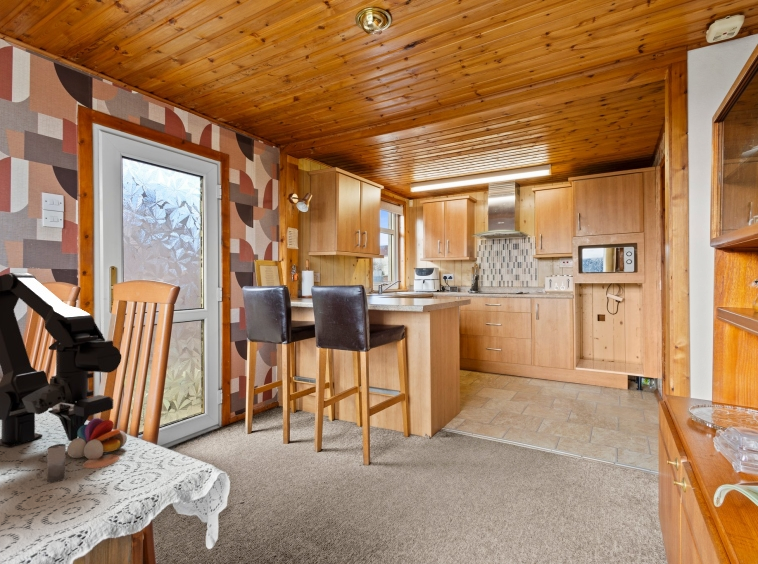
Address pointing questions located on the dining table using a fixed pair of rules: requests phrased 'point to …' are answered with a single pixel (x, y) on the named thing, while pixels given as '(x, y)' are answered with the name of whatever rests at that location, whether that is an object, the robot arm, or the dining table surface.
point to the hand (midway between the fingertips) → (72, 440)
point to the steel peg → (56, 463)
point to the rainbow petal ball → (96, 439)
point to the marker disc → (101, 461)
